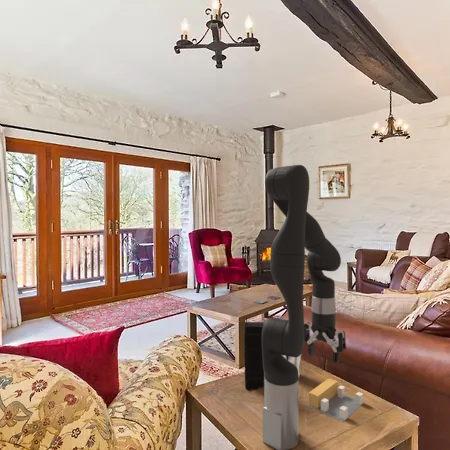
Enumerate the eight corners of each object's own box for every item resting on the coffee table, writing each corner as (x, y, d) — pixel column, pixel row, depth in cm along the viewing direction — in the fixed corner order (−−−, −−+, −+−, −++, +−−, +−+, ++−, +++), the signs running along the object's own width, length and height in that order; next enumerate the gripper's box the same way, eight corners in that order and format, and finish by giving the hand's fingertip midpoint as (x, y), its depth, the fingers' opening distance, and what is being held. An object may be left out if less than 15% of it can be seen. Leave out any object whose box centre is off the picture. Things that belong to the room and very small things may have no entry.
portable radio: (266, 381, 129) (266, 314, 128) (267, 390, 123) (266, 319, 122) (245, 380, 129) (244, 314, 128) (244, 389, 124) (244, 319, 122)
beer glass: (294, 371, 136) (294, 333, 136) (305, 379, 130) (305, 339, 129) (279, 375, 134) (278, 336, 133) (289, 383, 127) (289, 342, 127)
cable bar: (317, 408, 109) (317, 396, 109) (308, 404, 111) (308, 392, 111) (337, 392, 118) (337, 381, 118) (328, 389, 121) (328, 378, 120)
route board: (343, 425, 102) (343, 412, 102) (304, 408, 111) (304, 395, 111) (364, 404, 113) (364, 392, 113) (327, 390, 122) (327, 379, 122)
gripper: (298, 308, 116) (298, 356, 117) (338, 317, 106) (338, 369, 107) (310, 303, 121) (310, 349, 122) (349, 311, 111) (349, 361, 112)
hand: (323, 358), depth 114 cm, fingers open, 8 cm apart
